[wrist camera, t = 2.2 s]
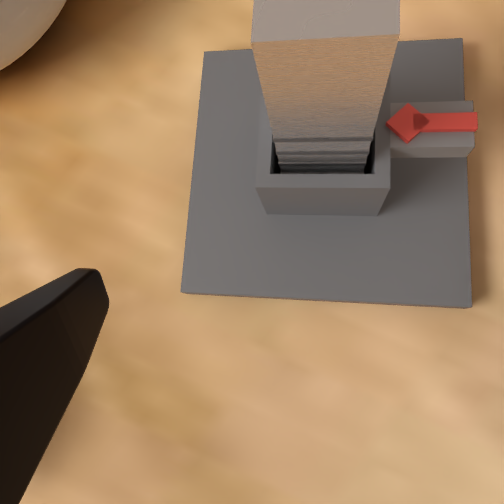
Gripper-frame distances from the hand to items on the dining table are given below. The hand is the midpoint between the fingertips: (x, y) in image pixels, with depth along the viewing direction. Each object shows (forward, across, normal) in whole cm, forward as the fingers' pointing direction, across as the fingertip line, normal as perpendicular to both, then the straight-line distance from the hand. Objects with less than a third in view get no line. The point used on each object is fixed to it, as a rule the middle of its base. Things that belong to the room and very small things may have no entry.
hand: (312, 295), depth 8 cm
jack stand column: (+14, 0, +3) cm, 14 cm away
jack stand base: (+15, 0, +4) cm, 15 cm away
